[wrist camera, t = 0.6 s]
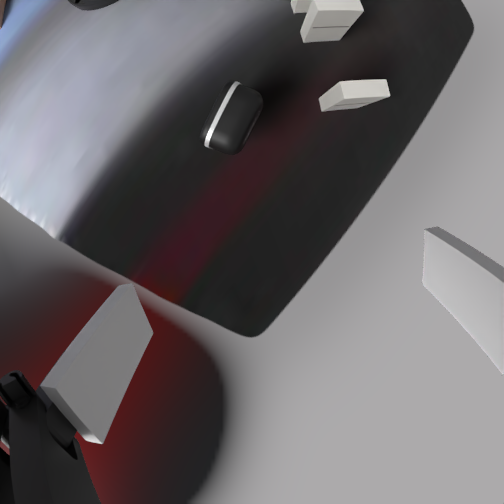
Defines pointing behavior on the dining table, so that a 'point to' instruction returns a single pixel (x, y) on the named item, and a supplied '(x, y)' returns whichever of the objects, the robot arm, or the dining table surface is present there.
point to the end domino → (354, 94)
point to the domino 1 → (300, 5)
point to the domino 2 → (329, 19)
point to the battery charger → (232, 118)
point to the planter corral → (2, 11)
